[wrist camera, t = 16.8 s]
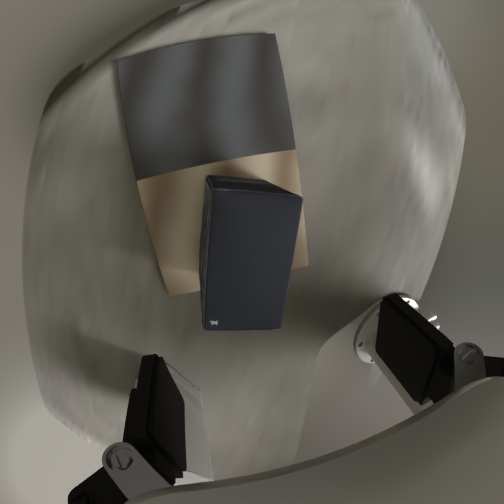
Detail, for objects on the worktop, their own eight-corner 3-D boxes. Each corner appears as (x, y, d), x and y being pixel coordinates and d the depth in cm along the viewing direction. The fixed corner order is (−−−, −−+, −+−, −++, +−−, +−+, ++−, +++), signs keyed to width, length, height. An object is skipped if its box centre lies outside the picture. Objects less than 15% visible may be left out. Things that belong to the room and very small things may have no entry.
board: (272, 36, 23) (274, 33, 22) (305, 262, 33) (308, 265, 32) (119, 63, 21) (117, 60, 20) (170, 292, 31) (169, 297, 30)
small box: (257, 276, 31) (284, 333, 21) (197, 274, 30) (199, 334, 20) (270, 179, 27) (309, 197, 18) (204, 173, 26) (207, 187, 16)
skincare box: (134, 377, 34) (121, 470, 20) (168, 360, 34) (164, 461, 20) (172, 407, 38) (173, 493, 23) (205, 392, 37) (216, 483, 23)
